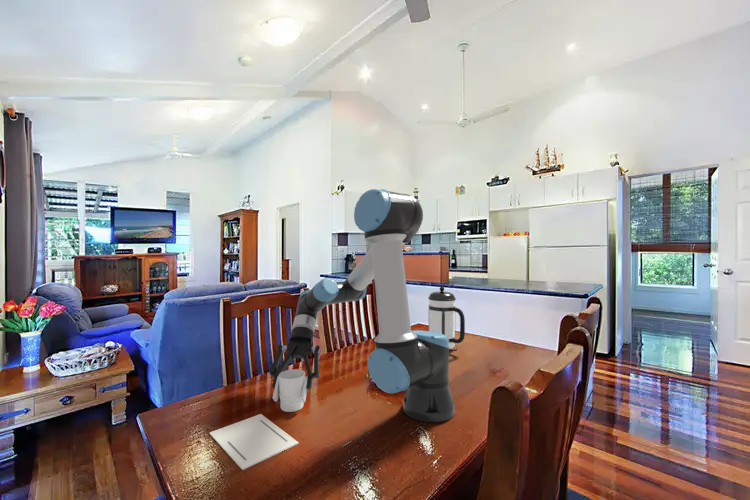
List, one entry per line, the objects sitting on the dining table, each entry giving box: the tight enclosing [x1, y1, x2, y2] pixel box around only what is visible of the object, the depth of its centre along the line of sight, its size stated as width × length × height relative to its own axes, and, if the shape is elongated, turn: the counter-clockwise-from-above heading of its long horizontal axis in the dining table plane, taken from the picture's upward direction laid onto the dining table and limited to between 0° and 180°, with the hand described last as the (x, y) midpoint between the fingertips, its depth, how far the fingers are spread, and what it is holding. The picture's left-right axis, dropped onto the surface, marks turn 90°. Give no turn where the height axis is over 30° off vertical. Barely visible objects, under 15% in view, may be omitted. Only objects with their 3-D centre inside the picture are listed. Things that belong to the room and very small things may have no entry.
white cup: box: [279, 368, 307, 413], centre depth 101 cm, size 8×8×10 cm
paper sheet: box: [209, 413, 300, 471], centre depth 84 cm, size 20×14×1 cm
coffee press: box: [427, 286, 466, 351], centre depth 159 cm, size 17×16×30 cm
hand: (288, 400), depth 98 cm, fingers closed on white cup, 8 cm apart
